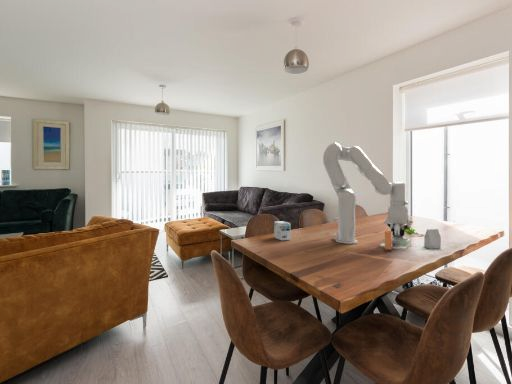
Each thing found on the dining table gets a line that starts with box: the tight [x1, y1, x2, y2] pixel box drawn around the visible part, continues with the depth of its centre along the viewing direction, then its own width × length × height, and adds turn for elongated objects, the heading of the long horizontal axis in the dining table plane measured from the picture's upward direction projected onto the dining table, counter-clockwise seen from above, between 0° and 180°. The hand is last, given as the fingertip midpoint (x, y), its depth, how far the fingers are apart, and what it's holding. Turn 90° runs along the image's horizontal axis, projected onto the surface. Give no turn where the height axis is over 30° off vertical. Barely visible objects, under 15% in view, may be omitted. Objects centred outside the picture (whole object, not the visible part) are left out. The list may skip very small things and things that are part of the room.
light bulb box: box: [273, 220, 292, 241], centre depth 167 cm, size 11×7×11 cm, turn 22°
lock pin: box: [384, 230, 395, 251], centre depth 140 cm, size 3×14×9 cm, turn 139°
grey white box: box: [423, 228, 442, 249], centre depth 144 cm, size 4×7×10 cm, turn 100°
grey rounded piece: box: [393, 224, 404, 240], centre depth 149 cm, size 6×6×9 cm
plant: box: [403, 220, 425, 238], centre depth 173 cm, size 20×20×11 cm
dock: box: [379, 237, 411, 251], centre depth 147 cm, size 12×16×4 cm
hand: (397, 235), depth 149 cm, fingers closed on grey rounded piece, 4 cm apart
